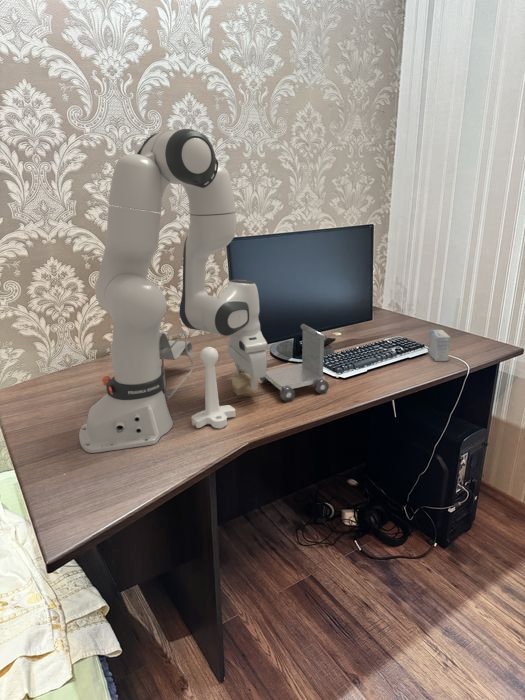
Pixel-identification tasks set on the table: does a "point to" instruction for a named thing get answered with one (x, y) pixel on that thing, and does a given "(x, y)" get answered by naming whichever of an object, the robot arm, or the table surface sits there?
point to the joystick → (212, 395)
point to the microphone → (328, 341)
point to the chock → (242, 384)
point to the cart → (302, 367)
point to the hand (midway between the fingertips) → (246, 381)
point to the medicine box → (439, 345)
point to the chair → (174, 353)
